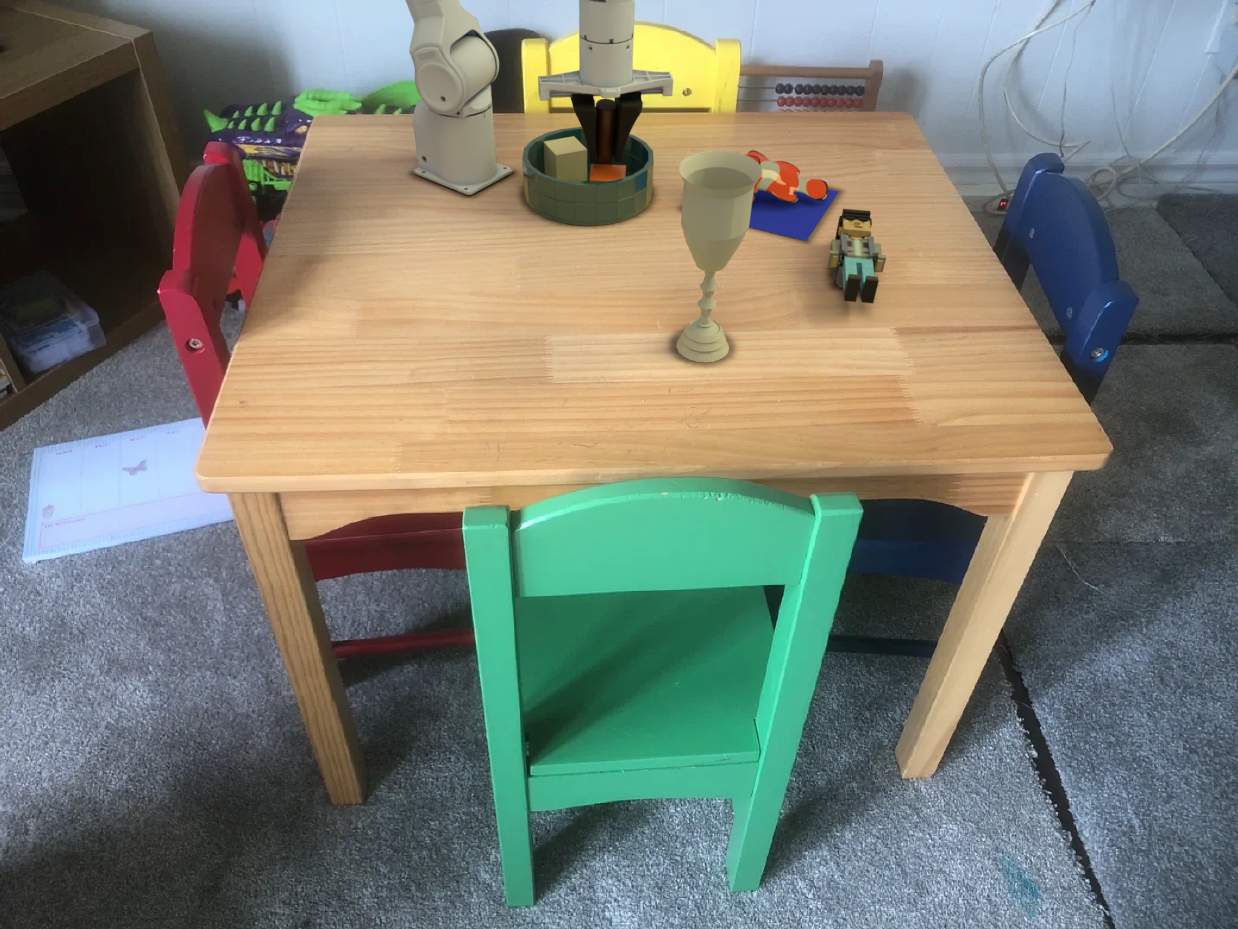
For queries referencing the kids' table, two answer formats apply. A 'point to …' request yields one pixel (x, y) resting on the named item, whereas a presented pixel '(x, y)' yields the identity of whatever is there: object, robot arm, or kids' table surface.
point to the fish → (787, 199)
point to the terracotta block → (606, 172)
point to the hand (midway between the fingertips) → (604, 158)
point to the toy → (856, 256)
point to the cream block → (565, 159)
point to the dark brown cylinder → (605, 130)
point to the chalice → (713, 234)
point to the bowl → (588, 185)
